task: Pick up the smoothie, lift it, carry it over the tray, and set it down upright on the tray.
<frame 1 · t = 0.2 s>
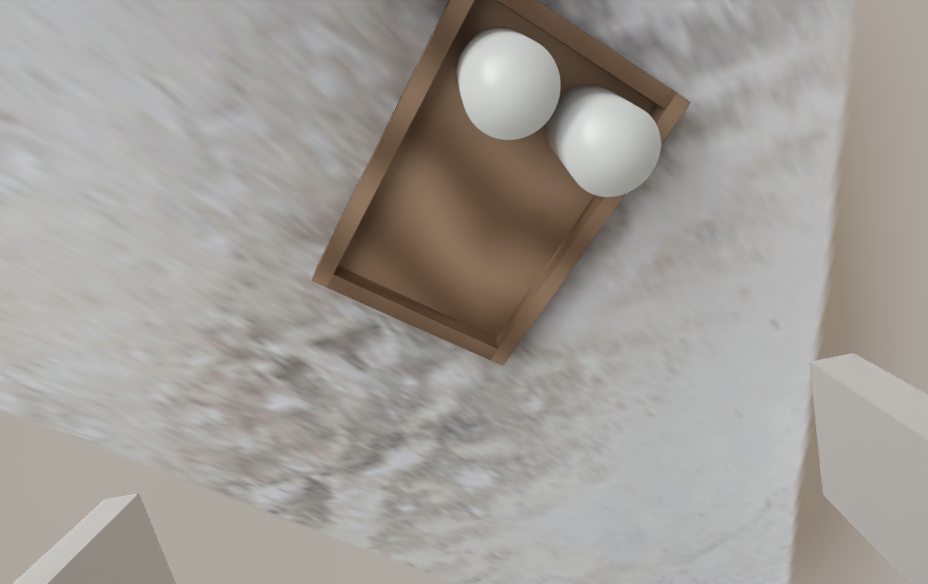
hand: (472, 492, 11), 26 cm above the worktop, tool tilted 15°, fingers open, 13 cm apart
white rounded cylinder a: (497, 72, 32), point 1 cm above the worktop, touching tray
tray: (487, 185, 36), on the worktop
tumbler b: (584, 125, 34), point 1 cm above the worktop, touching tray
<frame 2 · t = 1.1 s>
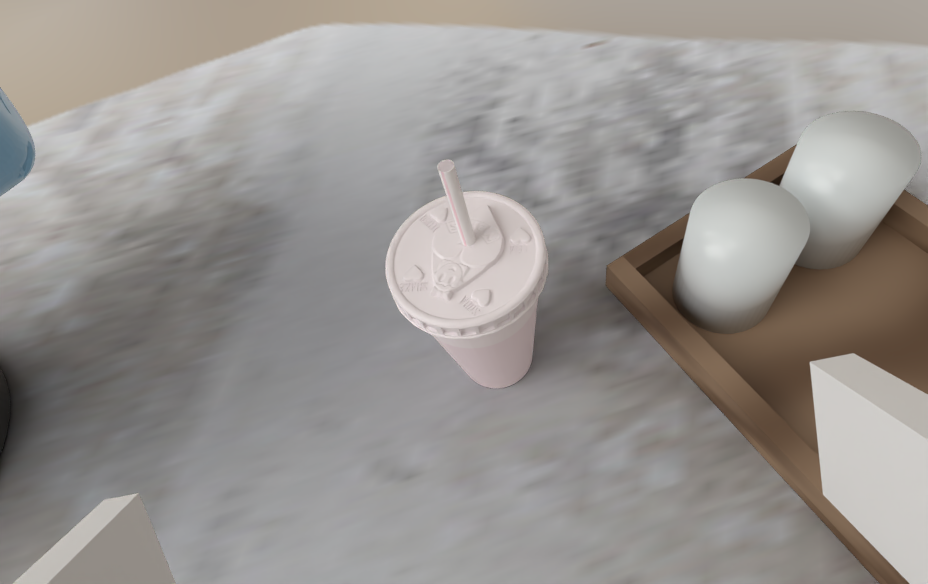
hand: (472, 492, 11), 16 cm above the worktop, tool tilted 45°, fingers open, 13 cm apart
white rounded cylinder a: (720, 292, 29), point 1 cm above the worktop, touching tray
smoothie: (497, 356, 31), on the worktop
tray: (863, 354, 27), on the worktop
tumbler b: (812, 231, 30), point 1 cm above the worktop, touching tray
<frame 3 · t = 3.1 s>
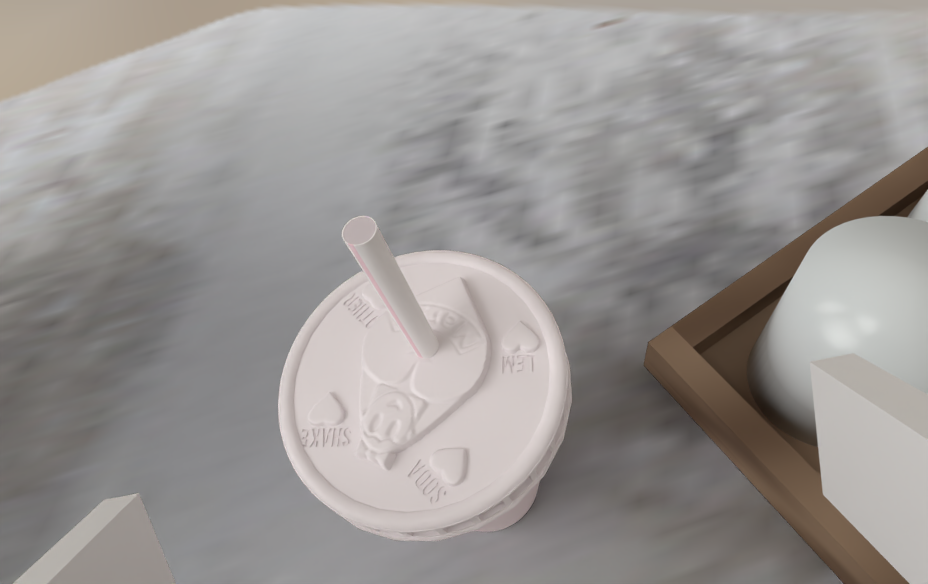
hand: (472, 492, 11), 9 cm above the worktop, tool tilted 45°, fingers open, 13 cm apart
white rounded cylinder a: (821, 380, 19), point 1 cm above the worktop, touching tray
smoothie: (487, 477, 21), on the worktop
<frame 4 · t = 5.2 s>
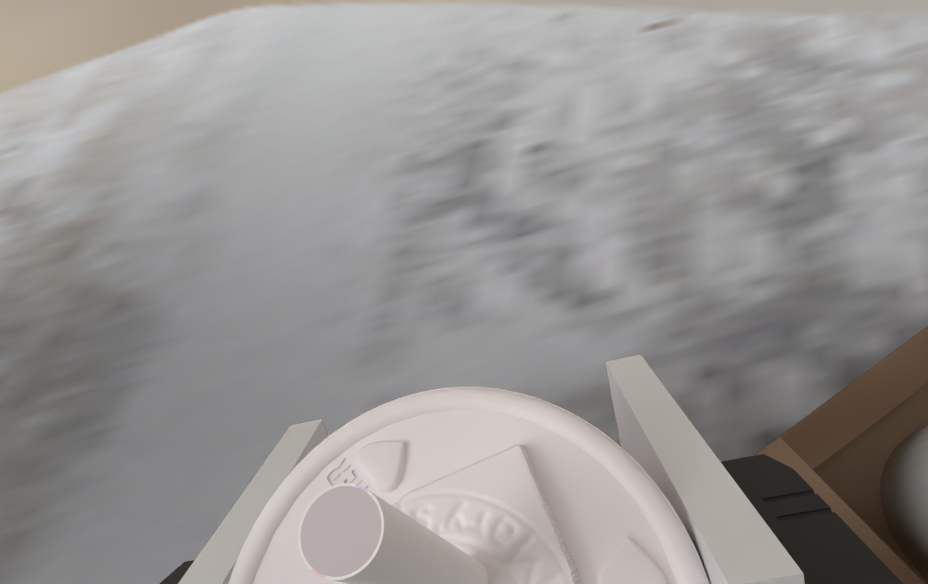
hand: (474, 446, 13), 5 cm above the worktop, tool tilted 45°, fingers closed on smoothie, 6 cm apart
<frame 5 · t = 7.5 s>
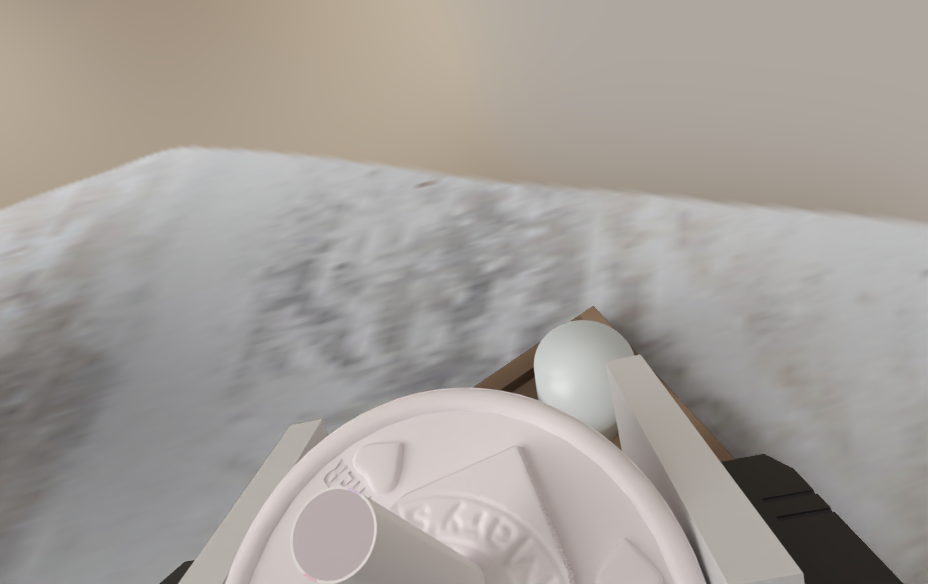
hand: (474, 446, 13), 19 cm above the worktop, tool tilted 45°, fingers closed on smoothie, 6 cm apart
tray: (609, 541, 29), on the worktop
tumbler b: (581, 408, 32), point 1 cm above the worktop, touching tray
when the fingers open (7 cm above the worktop, at t = 10.3 s): smoothie drops 1 cm, resting on tray.
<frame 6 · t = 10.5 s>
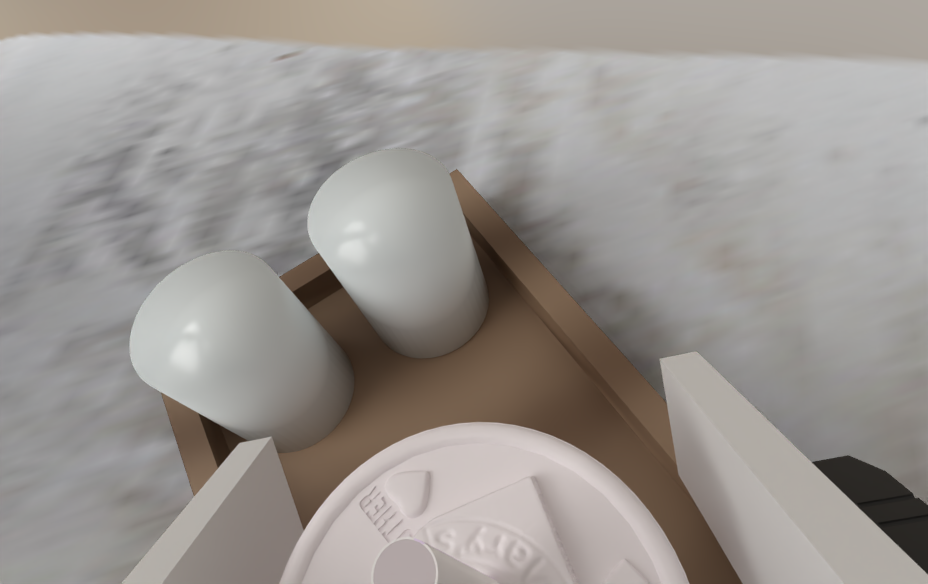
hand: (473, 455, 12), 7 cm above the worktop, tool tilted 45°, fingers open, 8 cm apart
white rounded cylinder a: (295, 391, 22), point 1 cm above the worktop, touching tray
tray: (446, 485, 19), on the worktop
tumbler b: (430, 304, 22), point 1 cm above the worktop, touching tray
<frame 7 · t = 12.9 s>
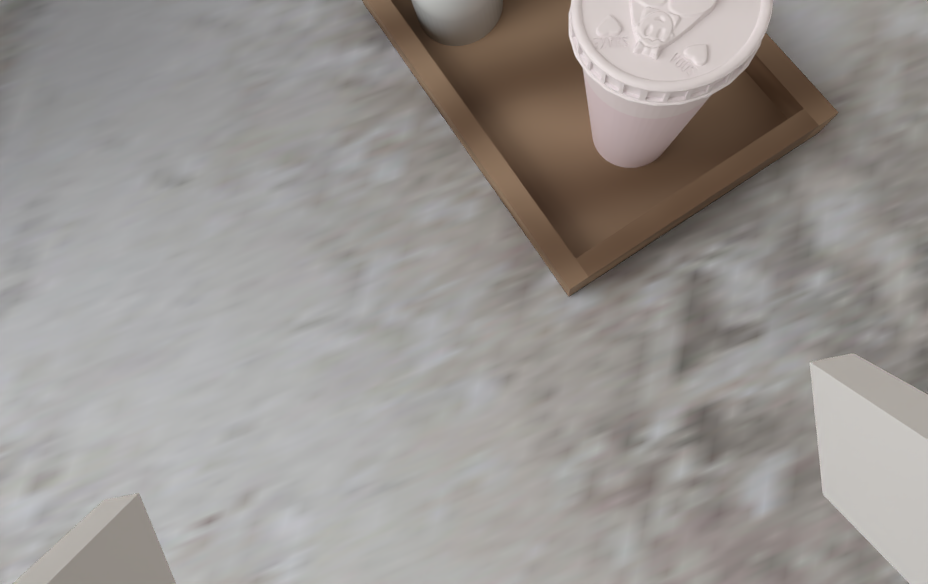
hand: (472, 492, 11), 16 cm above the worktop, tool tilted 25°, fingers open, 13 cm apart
white rounded cylinder a: (459, 6, 31), point 1 cm above the worktop, touching tray
smoothie: (630, 133, 28), resting on tray
tray: (571, 62, 30), on the worktop
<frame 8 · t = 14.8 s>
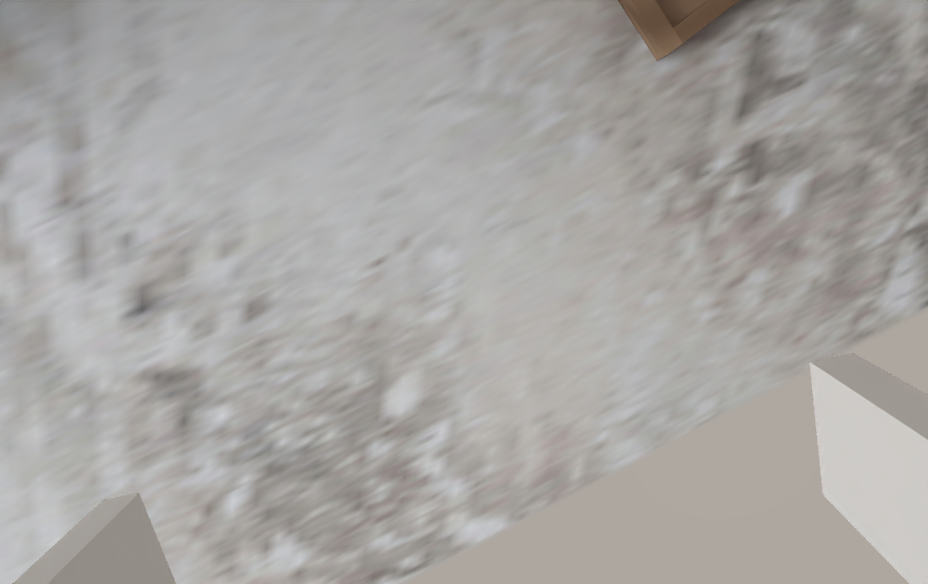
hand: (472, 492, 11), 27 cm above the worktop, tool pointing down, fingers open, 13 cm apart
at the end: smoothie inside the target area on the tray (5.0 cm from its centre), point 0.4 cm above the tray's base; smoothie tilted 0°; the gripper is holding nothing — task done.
